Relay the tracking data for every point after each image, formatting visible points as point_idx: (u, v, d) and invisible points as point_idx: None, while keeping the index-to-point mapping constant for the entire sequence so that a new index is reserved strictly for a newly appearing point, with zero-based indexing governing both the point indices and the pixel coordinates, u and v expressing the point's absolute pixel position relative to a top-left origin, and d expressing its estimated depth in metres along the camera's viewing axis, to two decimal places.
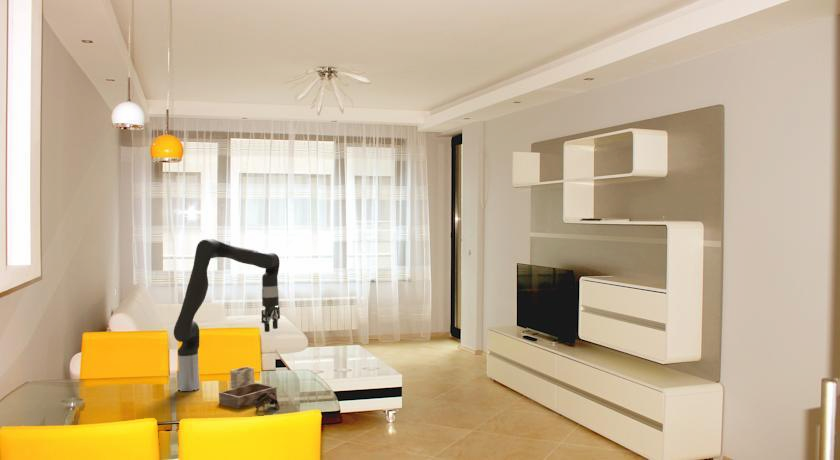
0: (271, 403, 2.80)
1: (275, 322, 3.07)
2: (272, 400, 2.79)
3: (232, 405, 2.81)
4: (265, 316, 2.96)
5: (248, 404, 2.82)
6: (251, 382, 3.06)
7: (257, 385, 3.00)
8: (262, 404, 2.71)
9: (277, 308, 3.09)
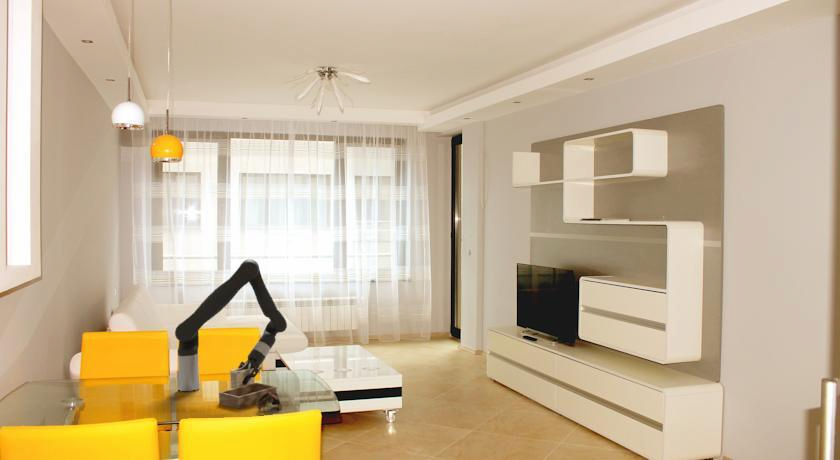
0: (273, 403, 2.79)
1: None
2: (274, 400, 2.79)
3: (232, 405, 2.81)
4: (257, 372, 3.04)
5: (248, 404, 2.82)
6: (251, 382, 3.06)
7: (257, 385, 3.00)
8: (264, 404, 2.71)
9: (244, 365, 3.13)
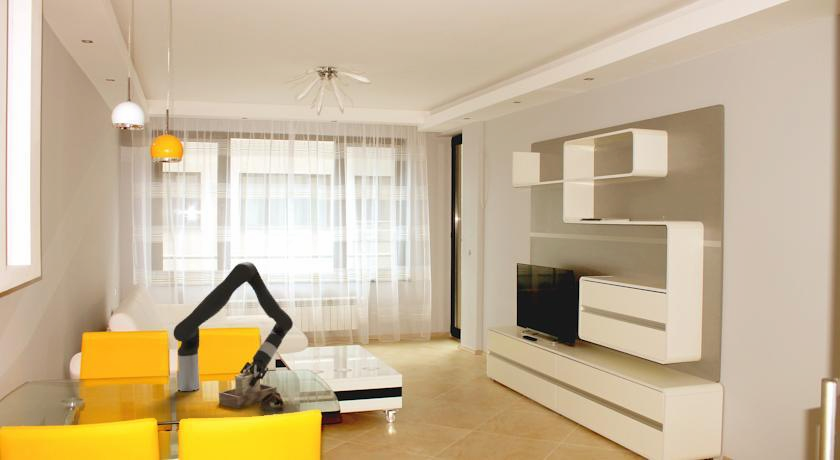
0: (276, 404, 2.79)
1: None
2: (277, 401, 2.78)
3: (232, 405, 2.81)
4: (265, 373, 2.89)
5: (248, 404, 2.82)
6: (257, 388, 2.91)
7: None
8: (268, 405, 2.70)
9: None
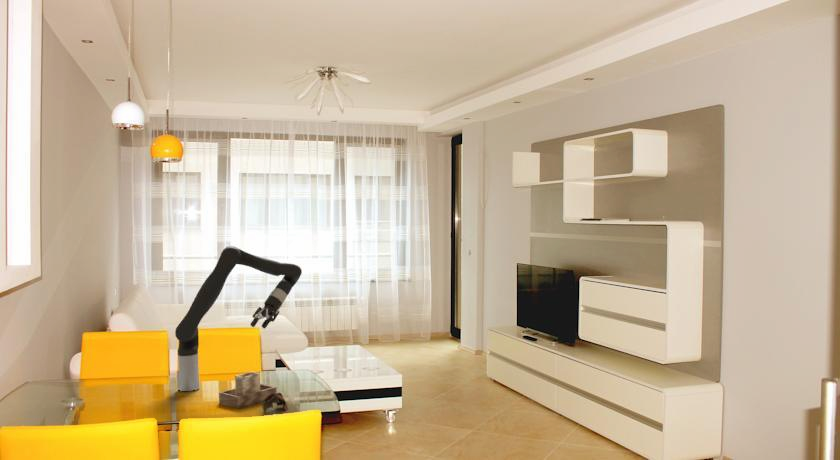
0: (278, 404, 2.78)
1: (256, 321, 3.10)
2: (279, 401, 2.78)
3: (232, 405, 2.81)
4: (276, 315, 3.06)
5: (248, 404, 2.82)
6: (257, 388, 2.91)
7: None
8: (271, 405, 2.69)
9: None
